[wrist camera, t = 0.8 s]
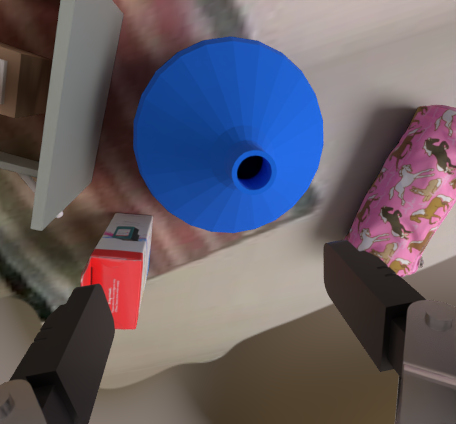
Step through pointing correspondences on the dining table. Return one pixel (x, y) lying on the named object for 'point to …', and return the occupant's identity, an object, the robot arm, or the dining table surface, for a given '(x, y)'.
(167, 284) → the dining table surface
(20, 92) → the module
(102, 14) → the case
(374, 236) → the pencil case
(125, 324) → the ink box
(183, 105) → the blue funnel
